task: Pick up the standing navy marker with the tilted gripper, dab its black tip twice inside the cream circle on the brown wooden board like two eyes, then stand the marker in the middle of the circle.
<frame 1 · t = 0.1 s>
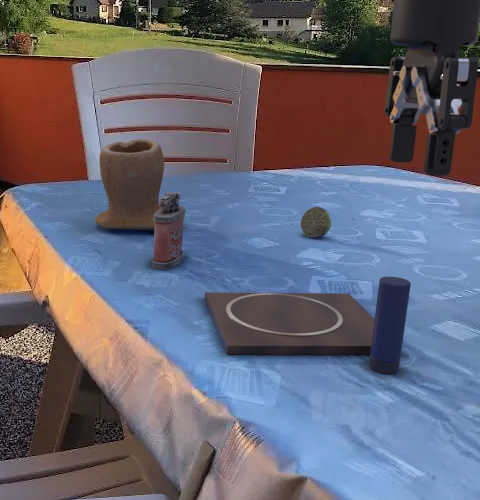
hand: (417, 167, 69), 19 cm above the table, tool pointing down, fingers open, 8 cm apart
stone cup: (139, 230, 119), on the table
lime: (314, 237, 118), on the table
lighter: (167, 262, 102), on the table
brown wooden board: (293, 325, 80), on the table
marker: (383, 367, 70), on the table
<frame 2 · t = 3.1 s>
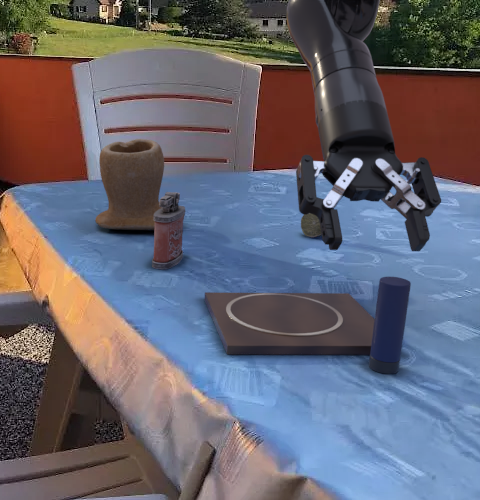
hand: (378, 247, 71), 11 cm above the table, tool tilted 45°, fingers open, 8 cm apart
nothing on the table moved.
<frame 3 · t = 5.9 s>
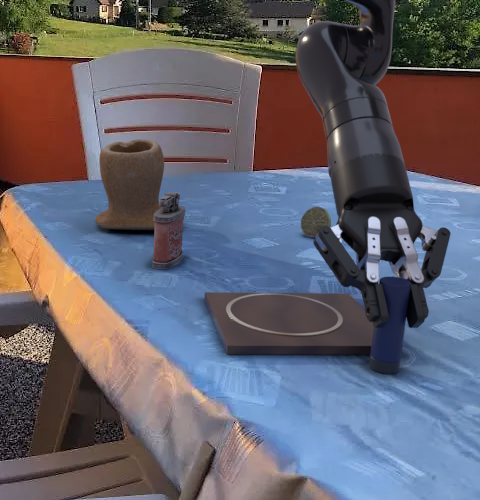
hand: (399, 324, 66), 5 cm above the table, tool tilted 45°, fingers closed on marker, 3 cm apart
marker: (383, 367, 70), on the table, touching gripper
everything else where it was.
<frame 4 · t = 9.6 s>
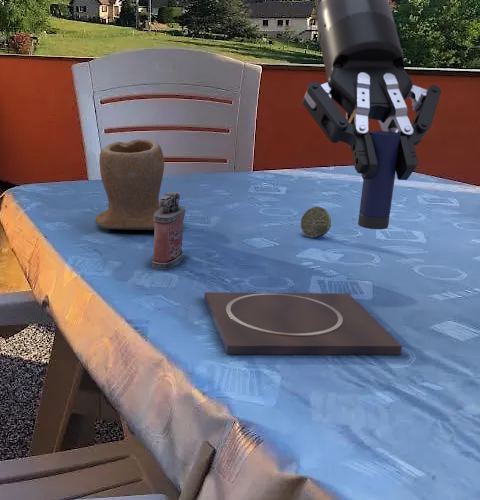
hand: (388, 174, 65), 19 cm above the table, tool tilted 45°, fingers closed on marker, 2 cm apart
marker: (372, 226, 69), point 14 cm above the table, touching gripper
everything else where it was.
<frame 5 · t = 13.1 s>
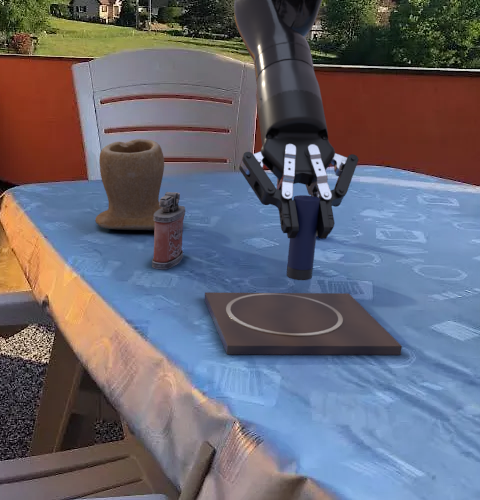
hand: (309, 234, 76), 11 cm above the table, tool tilted 45°, fingers closed on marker, 2 cm apart
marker: (299, 276, 79), point 5 cm above the table, touching gripper
everything else where it was.
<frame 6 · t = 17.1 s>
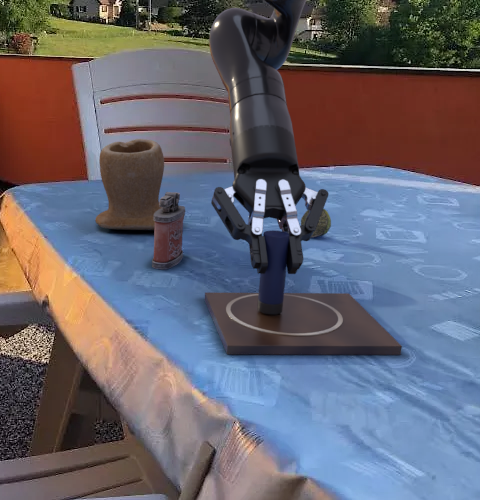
hand: (278, 270, 77), 7 cm above the table, tool tilted 45°, fingers closed on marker, 2 cm apart
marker: (269, 310, 80), point 1 cm above the table, touching gripper
everything else where it was.
when the fingers open (7 cm above the table, at t = 20.3 s): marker stays where it is, resting on brown wooden board.
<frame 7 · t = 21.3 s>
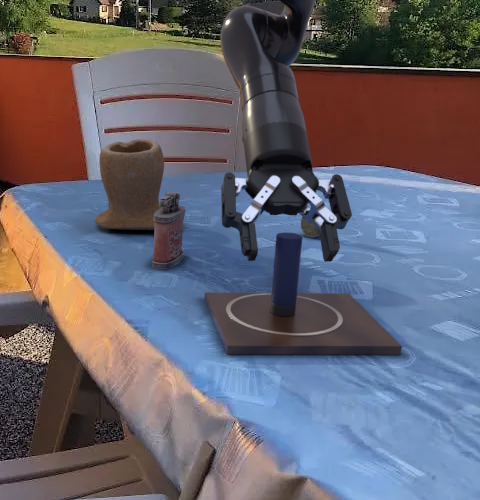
hand: (291, 258, 77), 8 cm above the table, tool tilted 45°, fingers open, 8 cm apart
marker: (282, 312, 80), point 1 cm above the table, touching brown wooden board
everything else where it was.
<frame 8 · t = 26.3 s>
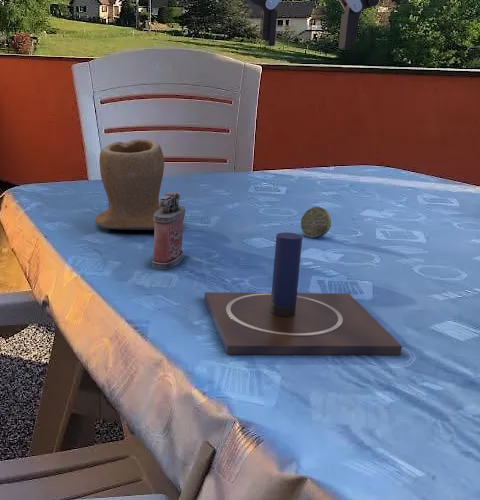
hand: (307, 47, 79), 30 cm above the table, tool pointing down, fingers open, 8 cm apart
nothing on the table moved.
at the end: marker 0.1 cm from the target spot, point 1.1 cm above the table; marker tilted 0°; the gripper is holding nothing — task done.
